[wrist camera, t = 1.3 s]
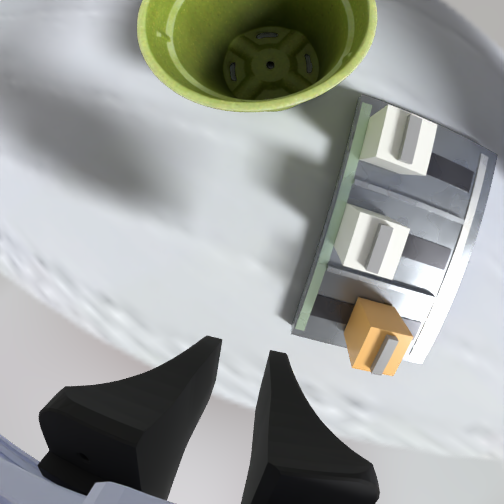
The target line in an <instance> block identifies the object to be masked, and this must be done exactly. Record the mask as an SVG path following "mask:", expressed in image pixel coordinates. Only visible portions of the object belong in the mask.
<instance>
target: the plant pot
mask: <svg viewBox="0 0 504 504" xmlns="http://www.w3.org/2000/svg"><path fill="white" fill-rule="evenodd" d="M376 27H377V7H376V2H375V0H142V3H141V5H140V9H139V12H138V18H137V37H138V43H139V47H140V50H141V53H142V55H143V57H144V59H145V61H146V63H147V65H148V66H149V68H150V70H151V71H152V72H153V73H154V74H155V76H156V77H157V78H158V79H159V80H160V81H161V82H162V83H164V84H165V85H166V86H167V87H169V88H170V89H171V90H173V91H174V92H176V93H177V94H179V95H180V96H182V97H184V98H186V99H188V100H190V101H193V102H195V103H198V104H201V105H204V106H207V107H211V108H215V109H220V110H225V111H234V112H263V111H267V112H274V111H282V110H286V109H289V108H292V107H294V106H296V105H298V104H300V103H303V102H306V101H308V100H310V99H313V98H315V97H317V96H319V95H321V94H323V93H325V92H327V91H328V90H330V89H332V88H333V87H335V86H336V85H337V84H339V83H340V82H342V81H343V80H344V79H345V78H346V77H347V76H349V75H350V74H351V73H352V72H353V71H354V70H355V69H356V67H357V66H358V65H359V64H360V63H361V62H362V60H363V59H364V57H365V56H366V54H367V52H368V50H369V48H370V46H371V44H372V42H373V39H374V36H375V32H376ZM268 32H272V33H276V34H278V36H277V37H264V38H260V39H258V38H256V36H257V35H258V34H261V33H268ZM305 54H307V55H309V56H310V61H311V63H312V72H311V73H308V72H307V66H306V59H305V57H304V55H305ZM269 61H271V62H273V63H274V67H273V68H272V69H269V68H267V66H266V64H267V62H269ZM233 62H234V63H235V74H236V79H237V80H236V81H234V80H232V79H231V75H230V65H231V63H233ZM264 99H266V100H264Z"/></svg>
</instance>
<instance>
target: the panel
mask: <svg viewBox="0 0 504 504" xmlns="http://www.w3.org/2000/svg"><path fill="white" fill-rule="evenodd" d="M387 105H388V103H386V102H383V101H380V100H378V99H375V98H372V97H369V96H366V95H363V94H362V95H361V96H360V98H359V99H358V103H357V108H356V112H355V116H354V120H353V124H352V128H351V132H350V136H349V140H348V144H347V147H346V151H345V155H344V159H343V162H342V166H341V170H340V173H339V177H338V181H337V184H336V188H335V191H334V195H333V198H332V202H331V205H330V209H329V212H328V215H327V219H326V222H325V225H324V229H323V232H322V235H321V238H320V242H319V245H318V248H317V251H316V254H315V258H314V261H313V264H312V267H311V270H310V273H309V276H308V279H307V282H306V285H305V288H304V291H303V294H302V297H301V300H300V303H299V306H298V309H297V312H296V315H295V318H294V320H293V323H292V329H291V334H293V335H297V336H301V337H305V338H308V339H312V340H316V341H320V342H324V343H328V344H332V345H336V346H340V347H345V348H347V345H346V341H345V337H344V331H345V328H346V326H347V323H348V321H349V319H350V316H351V314H352V311H353V309H354V306H355V304H356V301H357V299H358V297H360V298H364V299H368V300H371V301H375V302H379V303H382V304H386V305H390V306H393V307H395V308H396V310H397V312H398V313H399V315H400V316H401V318H402V319H403V321H404V323H405V324H406V326H407V327H408V329H409V330H410V332H411V334H412V335H413V339H412V341H411V343H410V345H409V347H408V349H407V351H406V353H405V355H404V357H403V359H402V360H403V361H408V362H413V363H418V364H422V363H423V361H424V359H425V357H426V355H427V353H428V351H429V349H430V348H431V346H432V344H433V342H434V340H435V338H436V336H437V334H438V332H439V329H440V327H441V325H442V323H443V321H444V319H445V317H446V315H447V312H448V310H449V308H450V306H451V303H452V301H453V299H454V296H455V294H456V291H457V289H458V287H459V284H460V282H461V279H462V277H463V274H464V271H465V269H466V266H467V263H468V260H469V258H470V255H471V252H472V249H473V246H474V243H475V240H476V237H477V234H478V231H479V228H480V224H481V221H482V217H483V214H484V210H485V207H486V203H487V199H488V195H489V191H490V187H491V183H492V179H493V174H494V170H495V165H496V160H497V154H495V153H493V152H492V151H490V150H488V149H486V148H485V147H483V146H481V145H479V144H477V143H475V142H473V141H471V140H470V139H468V138H466V137H464V136H462V135H460V134H458V133H456V132H454V131H452V130H450V129H447V128H445V127H443V126H441V125H439V124H437V123H435V124H437V130H436V134H435V139H434V144H433V148H432V152H431V157H430V161H429V165H428V169H427V173H426V176H421V175H406V174H398V173H396V172H393V171H390V170H387V169H385V168H382V167H379V166H376V165H373V164H370V163H367V162H364V161H361V160H359V158H360V154H361V150H362V146H363V142H364V138H365V135H366V130H367V126H368V122H369V118H370V117H371V116H373V115H374V114H375V113H377V112H378V111H380V110H381V109H382V108H384V107H385V106H387ZM389 105H391V104H389ZM392 106H394V105H392ZM394 107H396V106H394ZM397 108H399V107H397ZM399 109H401V108H399ZM402 110H404V109H402ZM404 111H406V110H404ZM407 112H409V111H407ZM409 113H411V112H409ZM412 114H414V113H412ZM414 115H416V114H414ZM417 116H419V115H417ZM419 117H421V116H419ZM421 118H423V117H421ZM424 119H425V118H424ZM426 120H428V119H426ZM428 121H430V120H428ZM431 122H432V121H431ZM433 123H434V122H433ZM347 203H348V204H351V205H355V206H358V207H361V208H364V209H367V210H370V211H373V212H376V213H379V214H382V215H385V216H388V217H390V218H392V219H393V220H395V221H397V222H399V223H401V224H403V225H405V226H406V227H408V228H410V231H409V234H408V237H407V240H406V243H405V246H404V249H403V252H402V255H401V258H400V260H399V263H398V266H397V269H396V271H395V274H394V277H393V279H392V280H390V279H387V278H384V277H380V276H377V275H373V274H370V273H367V272H363V271H360V270H356V269H353V268H350V267H346V266H343V265H342V262H341V260H340V258H339V256H338V254H337V252H336V250H335V247H334V243H335V240H336V237H337V234H338V231H339V227H340V224H341V221H342V218H343V214H344V211H345V208H346V204H347Z"/></svg>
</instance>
